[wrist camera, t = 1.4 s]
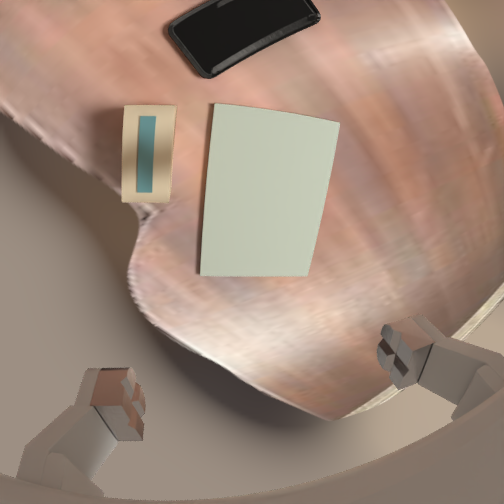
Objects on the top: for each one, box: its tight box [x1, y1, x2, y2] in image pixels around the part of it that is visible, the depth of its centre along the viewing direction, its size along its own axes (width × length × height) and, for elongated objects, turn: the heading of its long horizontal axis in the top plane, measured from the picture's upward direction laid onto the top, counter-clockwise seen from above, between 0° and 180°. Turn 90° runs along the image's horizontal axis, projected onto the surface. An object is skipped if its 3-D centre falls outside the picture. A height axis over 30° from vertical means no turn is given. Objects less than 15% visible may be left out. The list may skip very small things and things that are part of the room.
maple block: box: [122, 105, 177, 203], centre depth 26 cm, size 9×4×5 cm, turn 173°
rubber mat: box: [200, 103, 340, 276], centre depth 33 cm, size 20×14×1 cm
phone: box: [168, 0, 321, 79], centre depth 24 cm, size 8×1×15 cm
